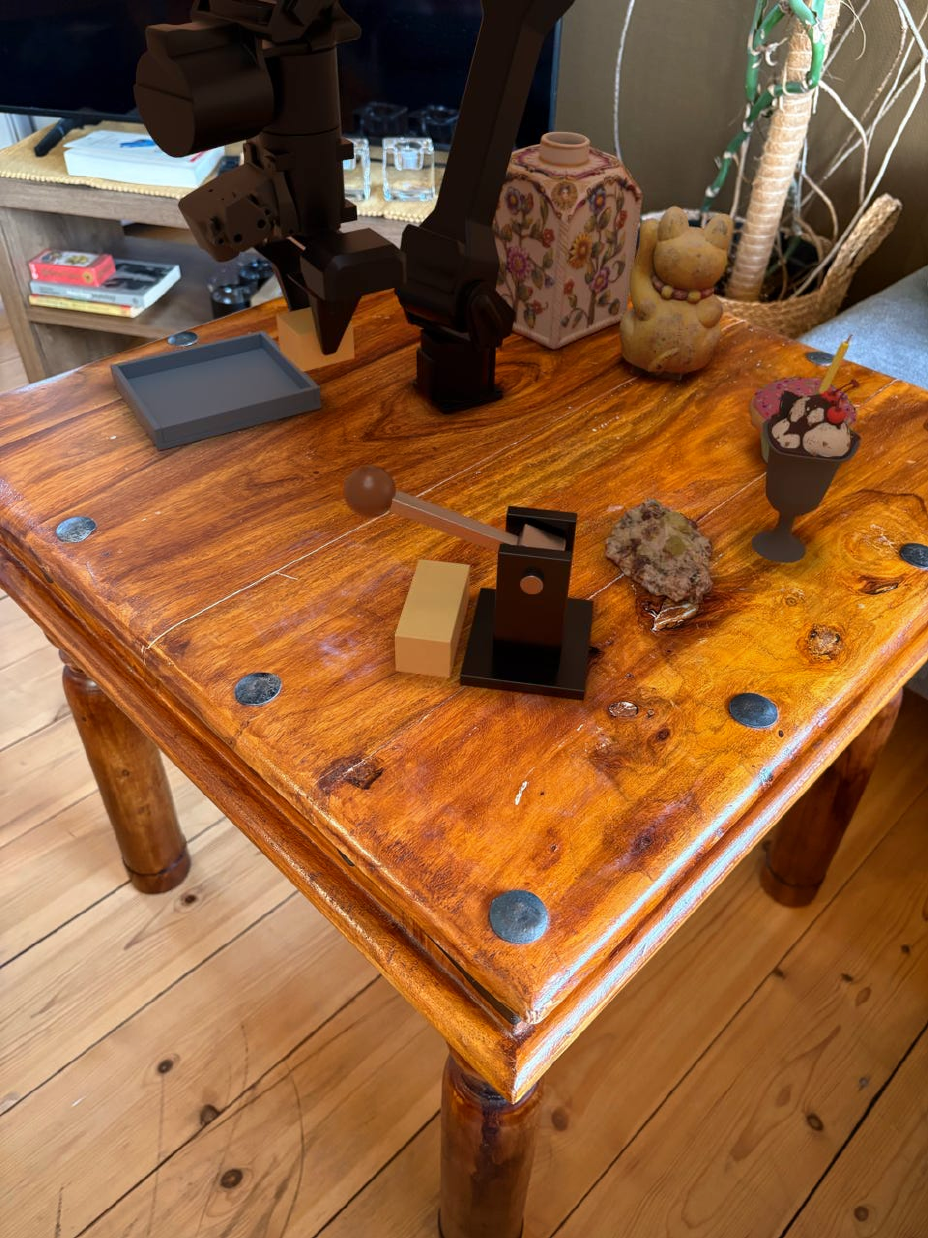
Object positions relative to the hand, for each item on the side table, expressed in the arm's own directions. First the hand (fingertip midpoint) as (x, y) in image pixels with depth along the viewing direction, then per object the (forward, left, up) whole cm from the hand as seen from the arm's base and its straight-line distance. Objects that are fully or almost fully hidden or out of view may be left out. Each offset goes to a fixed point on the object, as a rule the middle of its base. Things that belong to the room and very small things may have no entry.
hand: (316, 342), depth 76 cm
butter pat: (0, 0, -1) cm, 1 cm away
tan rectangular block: (+3, +23, -11) cm, 26 cm away
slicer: (-2, +28, -11) cm, 30 cm away
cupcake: (-35, +19, -11) cm, 41 cm away
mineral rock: (-16, +25, -11) cm, 31 cm away
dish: (+4, -15, -11) cm, 19 cm away
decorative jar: (-33, -14, -11) cm, 38 cm away
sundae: (-25, +28, -11) cm, 39 cm away
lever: (+2, +24, -3) cm, 24 cm away
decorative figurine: (-36, +1, -11) cm, 38 cm away
